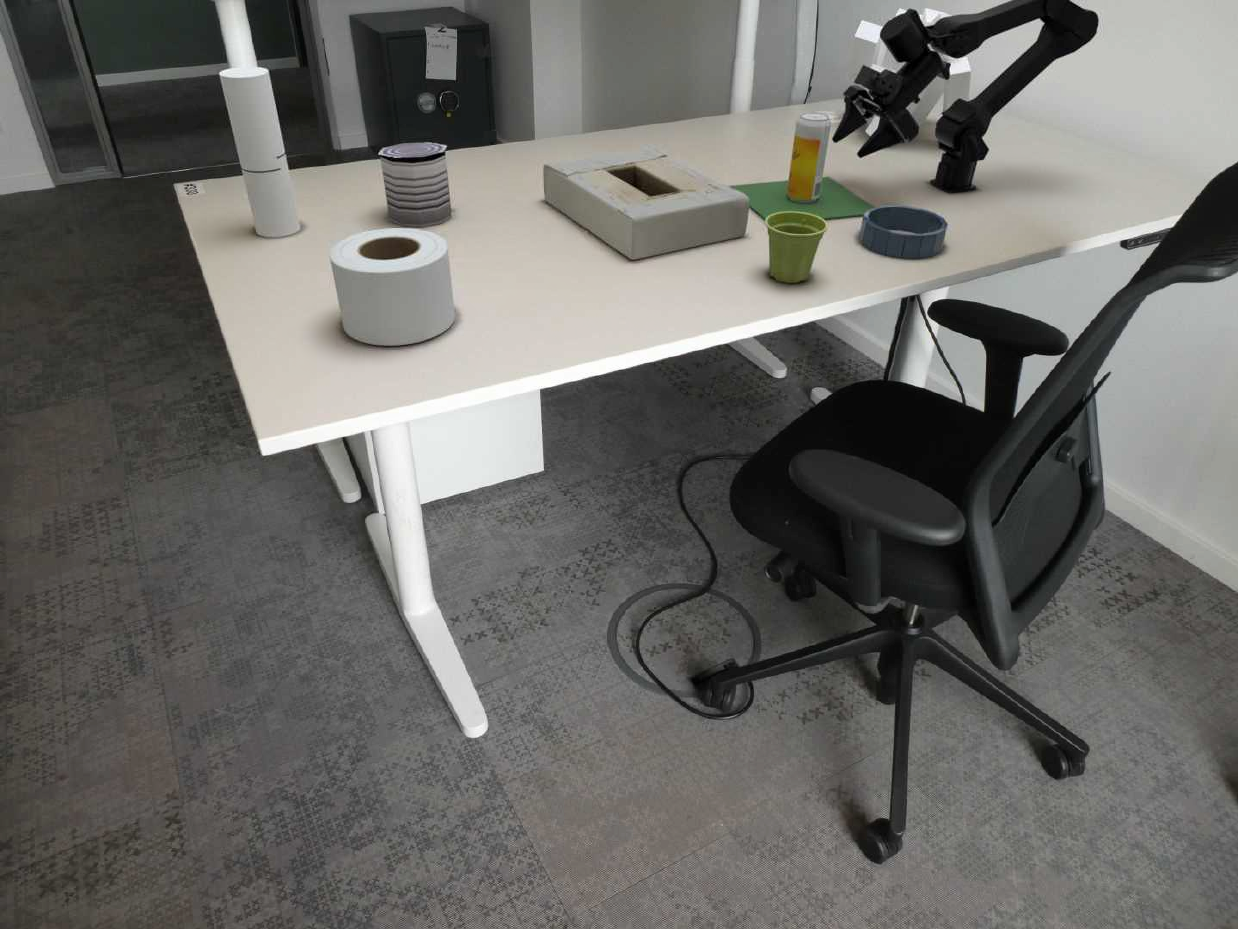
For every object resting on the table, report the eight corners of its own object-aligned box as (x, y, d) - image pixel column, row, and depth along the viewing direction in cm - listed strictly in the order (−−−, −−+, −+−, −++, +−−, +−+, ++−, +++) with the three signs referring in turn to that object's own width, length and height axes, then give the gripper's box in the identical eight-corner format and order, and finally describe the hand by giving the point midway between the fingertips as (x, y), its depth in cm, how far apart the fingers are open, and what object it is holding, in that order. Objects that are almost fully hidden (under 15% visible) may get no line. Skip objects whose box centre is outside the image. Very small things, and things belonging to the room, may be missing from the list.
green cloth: (827, 178, 176) (828, 176, 176) (880, 214, 160) (881, 211, 160) (726, 188, 170) (726, 185, 170) (771, 225, 155) (771, 223, 155)
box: (748, 236, 151) (647, 180, 173) (753, 192, 146) (648, 140, 168) (634, 265, 141) (542, 202, 163) (635, 219, 136) (540, 160, 158)
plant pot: (818, 291, 134) (827, 236, 128) (756, 285, 135) (763, 230, 130) (819, 266, 141) (828, 214, 136) (760, 260, 142) (767, 208, 137)
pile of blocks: (798, 138, 216) (803, 9, 185) (889, 76, 220) (910, -60, 190) (901, 217, 200) (925, 91, 169) (997, 149, 205) (1037, 14, 174)
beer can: (795, 190, 169) (806, 108, 160) (824, 197, 166) (837, 114, 157) (780, 199, 165) (791, 116, 156) (810, 206, 162) (823, 122, 153)
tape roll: (344, 300, 128) (330, 229, 122) (450, 292, 131) (443, 222, 125) (341, 352, 116) (327, 276, 110) (459, 341, 119) (452, 266, 113)
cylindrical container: (308, 224, 151) (278, 69, 136) (283, 239, 146) (248, 79, 131) (273, 219, 153) (239, 64, 138) (247, 233, 148) (208, 74, 133)
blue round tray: (909, 223, 157) (914, 201, 155) (958, 252, 147) (964, 229, 144) (844, 232, 153) (848, 210, 151) (889, 263, 143) (894, 239, 140)
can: (386, 228, 150) (375, 157, 143) (389, 205, 159) (380, 137, 152) (453, 226, 152) (446, 155, 145) (453, 202, 161) (446, 135, 154)
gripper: (861, 37, 160) (798, 105, 164) (918, 60, 146) (848, 133, 150) (890, 80, 167) (829, 144, 171) (948, 106, 153) (880, 175, 157)
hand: (845, 148), depth 162 cm, fingers open, 9 cm apart
